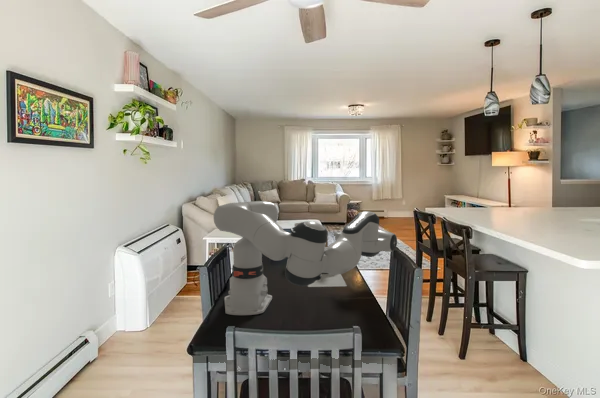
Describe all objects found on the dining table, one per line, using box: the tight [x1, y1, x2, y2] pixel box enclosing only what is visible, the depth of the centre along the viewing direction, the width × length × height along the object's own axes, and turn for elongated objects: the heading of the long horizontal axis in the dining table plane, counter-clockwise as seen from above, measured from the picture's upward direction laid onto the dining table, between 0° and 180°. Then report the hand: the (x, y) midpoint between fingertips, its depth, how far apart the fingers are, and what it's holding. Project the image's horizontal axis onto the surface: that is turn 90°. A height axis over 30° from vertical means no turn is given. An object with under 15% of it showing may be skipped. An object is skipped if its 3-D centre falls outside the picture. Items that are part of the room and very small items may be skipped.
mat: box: [307, 273, 348, 288], centre depth 164 cm, size 18×17×1 cm
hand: (341, 232), depth 171 cm, fingers open, 8 cm apart
